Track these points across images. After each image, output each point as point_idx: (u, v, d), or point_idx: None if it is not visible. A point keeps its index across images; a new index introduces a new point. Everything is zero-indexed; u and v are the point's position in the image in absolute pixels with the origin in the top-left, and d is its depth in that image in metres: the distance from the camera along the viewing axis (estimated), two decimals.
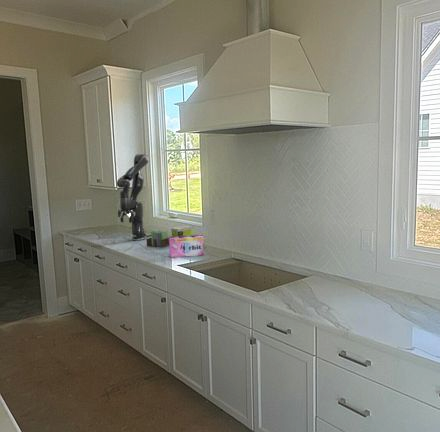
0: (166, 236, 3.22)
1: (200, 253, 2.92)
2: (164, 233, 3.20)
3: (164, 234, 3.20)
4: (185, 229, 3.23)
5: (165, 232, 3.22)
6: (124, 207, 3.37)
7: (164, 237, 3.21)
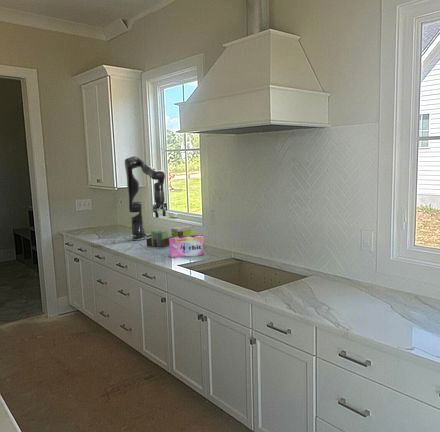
0: (166, 236, 3.22)
1: (200, 253, 2.92)
2: (164, 233, 3.20)
3: (164, 234, 3.20)
4: (185, 229, 3.23)
5: (165, 232, 3.22)
6: None
7: (164, 237, 3.21)
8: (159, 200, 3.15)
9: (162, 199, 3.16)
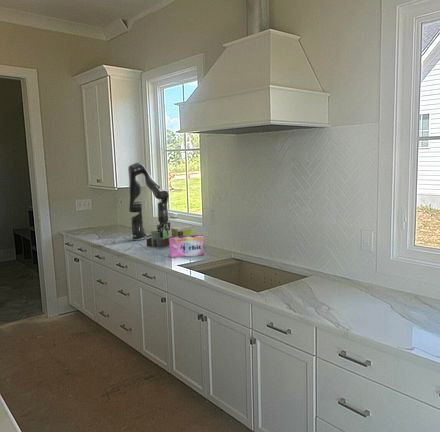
0: (166, 236, 3.22)
1: (200, 253, 2.92)
2: (164, 233, 3.20)
3: (164, 234, 3.20)
4: (185, 229, 3.23)
5: (165, 232, 3.22)
6: (158, 219, 3.19)
7: (164, 237, 3.21)
8: (163, 219, 3.16)
9: (166, 218, 3.18)
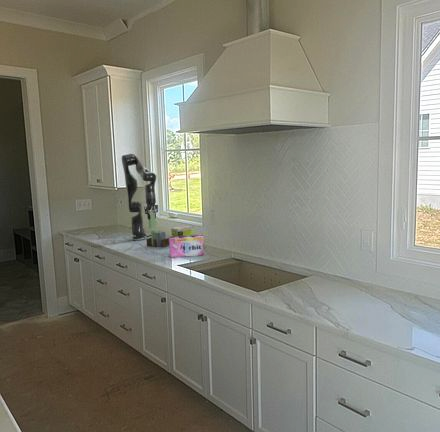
0: (153, 218, 3.24)
1: (200, 253, 2.92)
2: (152, 215, 3.22)
3: (152, 216, 3.22)
4: (185, 229, 3.23)
5: (153, 214, 3.24)
6: None
7: (152, 219, 3.22)
8: (150, 201, 3.18)
9: (153, 200, 3.19)
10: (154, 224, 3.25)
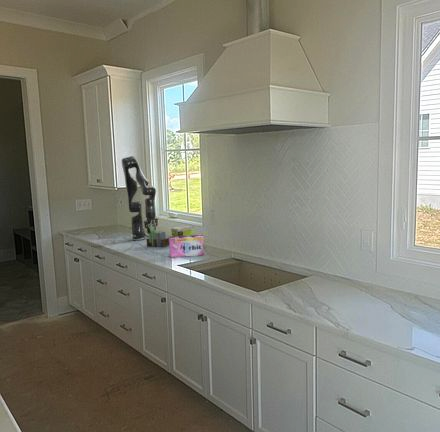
0: None
1: (200, 253, 2.92)
2: (151, 229, 3.24)
3: (151, 230, 3.24)
4: (185, 229, 3.23)
5: (153, 228, 3.25)
6: None
7: None
8: (150, 215, 3.20)
9: (153, 214, 3.21)
10: None
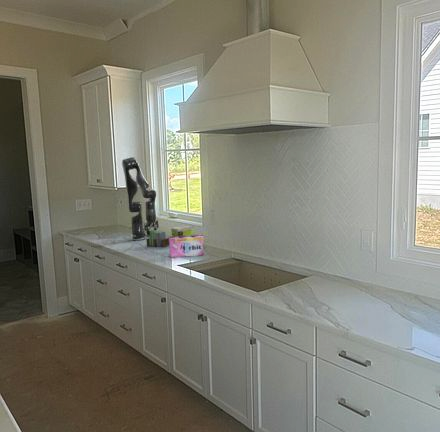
0: None
1: (200, 253, 2.92)
2: None
3: None
4: (185, 229, 3.23)
5: None
6: (146, 218, 3.23)
7: None
8: (150, 218, 3.20)
9: (153, 217, 3.22)
10: None
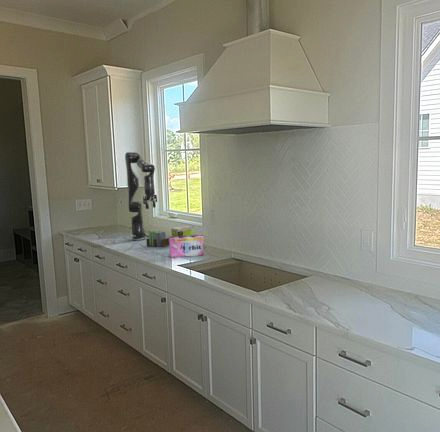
0: None
1: (200, 253, 2.92)
2: None
3: None
4: (185, 229, 3.23)
5: None
6: None
7: None
8: (149, 192, 3.28)
9: (152, 191, 3.29)
10: None
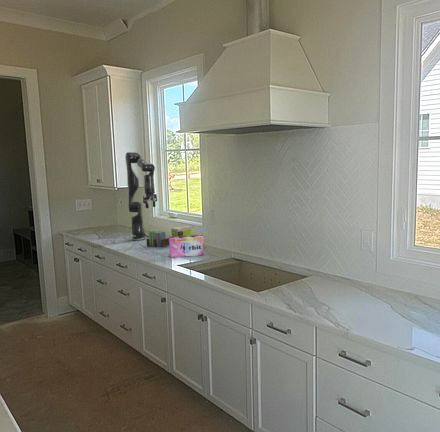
0: None
1: (200, 253, 2.92)
2: None
3: None
4: (185, 229, 3.23)
5: None
6: None
7: None
8: (149, 191, 3.28)
9: (152, 190, 3.29)
10: None
